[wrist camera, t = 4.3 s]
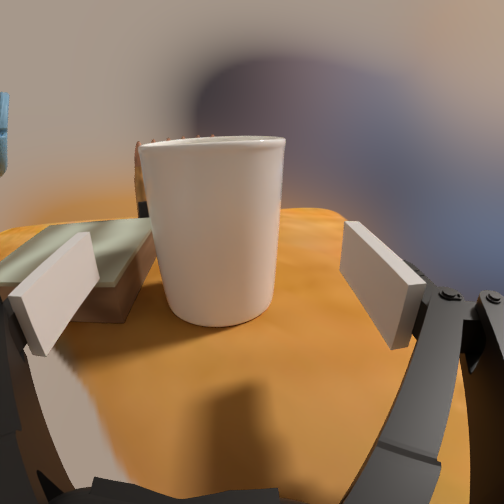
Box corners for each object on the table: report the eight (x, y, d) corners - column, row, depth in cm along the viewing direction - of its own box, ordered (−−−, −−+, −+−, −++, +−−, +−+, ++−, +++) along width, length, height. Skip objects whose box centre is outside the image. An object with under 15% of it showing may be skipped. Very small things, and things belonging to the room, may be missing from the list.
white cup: (288, 273, 28) (291, 136, 23) (273, 343, 19) (276, 142, 14) (186, 265, 30) (175, 139, 25) (136, 323, 21) (107, 151, 16)
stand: (-12, 314, 20) (-24, 281, 19) (55, 250, 34) (49, 225, 32) (124, 323, 21) (113, 282, 19) (162, 245, 34) (158, 216, 33)
